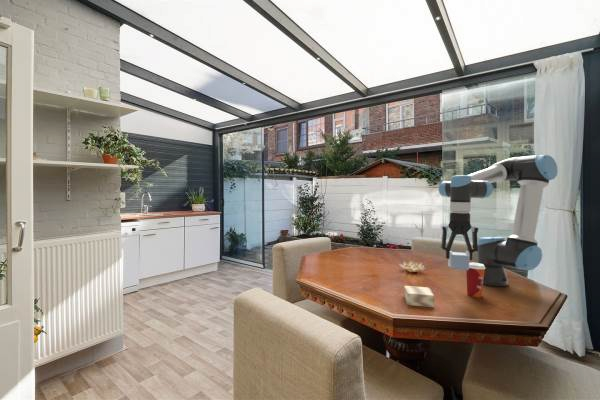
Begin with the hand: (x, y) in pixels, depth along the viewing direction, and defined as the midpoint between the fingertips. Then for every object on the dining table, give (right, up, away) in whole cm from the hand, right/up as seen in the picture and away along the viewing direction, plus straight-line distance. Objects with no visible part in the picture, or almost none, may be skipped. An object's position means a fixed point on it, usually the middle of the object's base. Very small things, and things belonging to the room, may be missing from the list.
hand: (458, 266), depth 125 cm
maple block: (-17, -15, -1) cm, 23 cm away
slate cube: (0, 0, 0) cm, 0 cm away
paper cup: (+11, -14, +8) cm, 20 cm away
